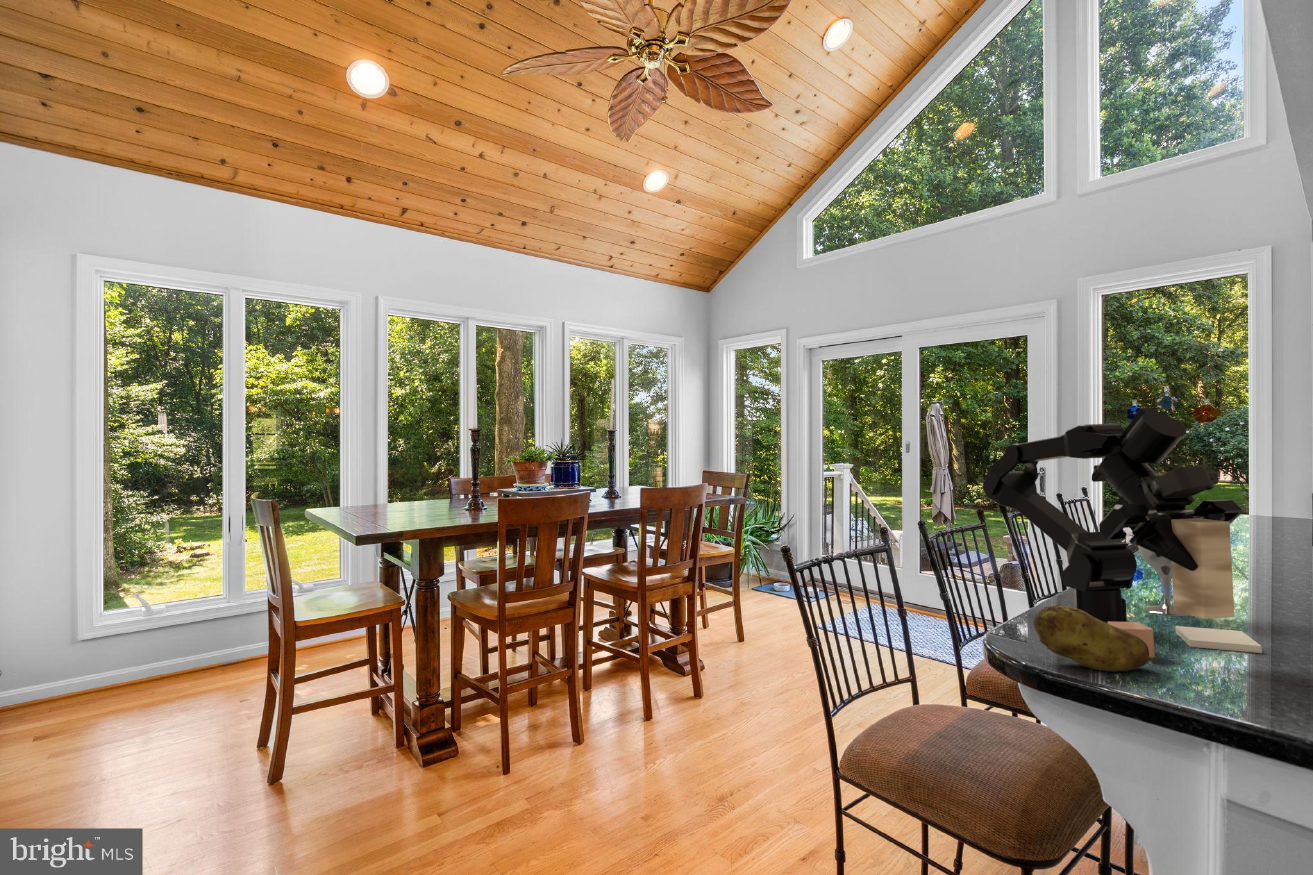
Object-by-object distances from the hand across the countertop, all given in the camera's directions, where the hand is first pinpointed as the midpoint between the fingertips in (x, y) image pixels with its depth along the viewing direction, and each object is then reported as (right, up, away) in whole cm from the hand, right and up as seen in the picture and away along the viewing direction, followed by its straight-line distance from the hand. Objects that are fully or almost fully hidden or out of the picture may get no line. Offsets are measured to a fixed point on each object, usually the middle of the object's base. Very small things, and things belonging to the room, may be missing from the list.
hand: (1211, 568), depth 86 cm
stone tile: (+8, -13, +8) cm, 17 cm away
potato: (-16, -14, 0) cm, 22 cm away
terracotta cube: (-7, -14, +5) cm, 16 cm away
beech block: (0, -7, +1) cm, 7 cm away
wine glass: (+16, -13, +26) cm, 33 cm away
